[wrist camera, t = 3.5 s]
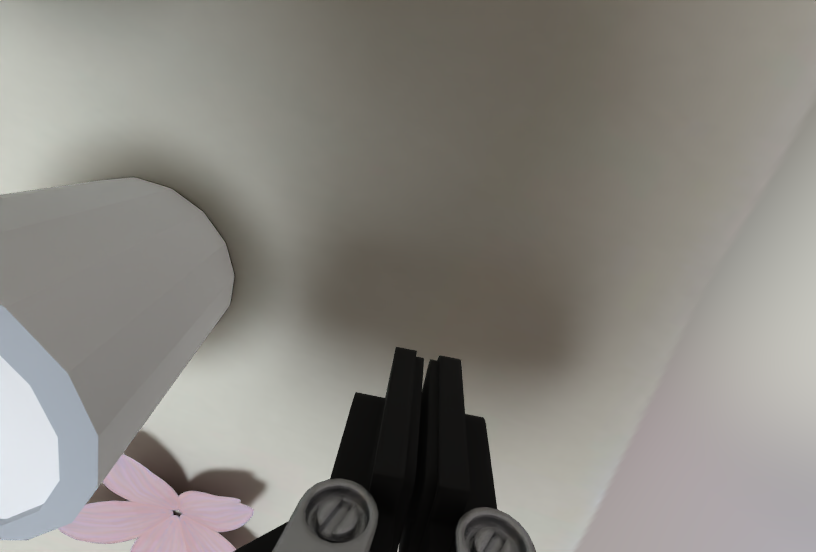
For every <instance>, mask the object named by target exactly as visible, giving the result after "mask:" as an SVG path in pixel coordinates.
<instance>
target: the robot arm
mask: <svg viewBox="0 0 816 552" xmlns="http://www.w3.org/2000/svg"><path fill="white" fill-rule="evenodd" d="M416 354H417V351H415V350H410V349H405V348H400V347H396V349H395V353H394V358H393V363H392V368H391V373H390V378H389V383H388V387H387V392H386V397H385V398H382V397H377V396H372V395H367V394H362V393H357V392H356V393H355V395H354V398H353V402H352V405H351V409H350V412H349V416H348V419H347V423H346V426H345V430H344V433H343V437H342V440H341V443H340V447H339V450H338V454H337V457H336V461H335V464H334V468H333V471H332V475H331V478H330V479H328V480H325V481H322V482H319V483H317V484H315V485H314V486H313V487H311V488H310V489H308V490H307V491H306V493H305V494H304V495H303V497H302V498H301V499H300V501H299V503H298V505H297V507H296V508H295V510H294V512H293V514H292V516H291V518H290V520H289V521H288V522H287V523H285V524H283V525H281V526H279V527H277V528H276V529H274V530H272V531H270V532H268V533H266V534H265V535H263V536H261V537H259V538H257V539H255V540H253V541H252V542H250V543H248V544H246V545H244V546H242V547H241V548H239V549H237V550H235V551H233V552H397V550H398V546H399V552H536V550H535V547H534V545H533V543H532V541H531V539H530V537H529V535H528V533H527V532H526V531H525V529H524V528H523V527H522V526H521V524H520V523H519V522H517V521H516V520H515V519H513V518H512V517H511V516H510V515H508V514H506V513H504V512H502V511H500V510H498V509H497V504H496V497H495V489H494V482H493V474H492V467H491V459H490V452H489V444H488V437H487V429H486V423H485V419H484V418H483V417H478V416H473V415H468V414H465V408H464V394H463V380H462V366H461V360H460V359H455V358H450V357H445V356H439V357H438V360H437V361H436V360H431V359H430V361H429V365H428V369H427V373H426V377H425V381H424V385H423V389H422V381H423V366H424V358H421V357H416Z"/></svg>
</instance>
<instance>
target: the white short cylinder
mask: <svg viewBox="0 0 816 552" xmlns="http://www.w3.org/2000/svg"><path fill="white" fill-rule="evenodd" d="M234 276H235V275H234V272H233V268H232V264H231V261H230V257H229V253H228V250H227V246H226V243H225V241H224V240H223V239H222V237H221V236H220V234H219V233H218V232H217V230H216V229H215V227H214V226H213V225H212V223H211V222H210V220H209V219H208V218H207V216H206V215H205V213H204V212H203V211H201V210H200V209H199V208H197V207H196V206H195V205H193V204H192V203H190V202H189V201H188V200H186V199H185V198H184V197H182V196H181V195H180V194H178V193H177V192H176V191H174V190H173V189H171V188H168V187H165V186H162V185H158V184H155V183H152V182H149V181H146V180H142V179H139V178H136V177H131V178H120V179H109V180H99V181H92V182H85V183H78V184H71V185H64V186H58V187H51V188H44V189H37V190H30V191H23V192H17V193H10V194H3V195H0V540H29V539H31V538H34V537H36V536H39V535H42V534H44V533H47V532H49V531H52V530H55V529H57V528H60V527H63V526H65V525H68V524H70V523H72V522H73V521H74V519H75V518H76V517H77V515H78V514H79V513H80V511H81V510H82V509H83V507H84V506H85V505H86V503H87V502H88V501H89V499H90V498H91V496H92V495H93V494H94V492H95V491H96V490H97V488H98V487H99V486H100V484H101V483H102V482H103V480H104V479H105V477H106V476H107V475H108V473H109V472H110V470H111V469H112V468H113V466H114V465H115V464H116V462H117V461H118V459H119V458H120V457H121V455H122V454H123V452H124V451H125V450H126V448H127V447H128V446H129V444H130V443H131V441H132V440H133V439H134V437H135V436H136V434H137V433H138V432H139V430H140V429H141V427H142V426H143V425H144V423H145V422H146V421H147V419H148V418H149V416H150V415H151V414H152V412H153V411H154V409H155V408H156V407H157V405H158V404H159V403H160V401H161V400H162V398H163V397H164V396H165V394H166V393H167V391H168V390H169V389H170V387H171V386H172V385H173V383H174V382H175V380H176V379H177V378H178V376H179V375H180V373H181V372H182V371H183V369H184V368H185V367H186V365H187V364H188V362H189V361H190V360H191V358H192V357H193V355H194V354H195V353H196V351H197V350H198V349H199V347H200V346H201V344H202V343H203V342H204V340H205V339H206V337H207V336H208V335H209V333H210V332H211V331H212V329H213V328H214V326H215V325H216V324H217V322H218V321H219V319H220V318H221V317H222V315H223V314H224V313H225V311H226V310H227V308H228V307H229V306H230V302H231V296H232V289H233V283H234Z"/></svg>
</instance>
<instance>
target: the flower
mask: <svg viewBox="0 0 816 552" xmlns="http://www.w3.org/2000/svg"><path fill="white" fill-rule="evenodd" d="M103 483H104V485H105V486H106V487H107V488H108V489H109V490H111V491H112V492H114V493H115V494H117V495H119V496H121V497H123V498H125V499H127V500H129V501H103V502H95V503H89V504H86V505H85V506H84V507H83V509H82V510H81V511H80V513H79V514H78V515H77V517H76V518H75V519H74V521H73V522H72V523H70V524H68V525H65V526H63V527H60V528H58V529H59V530H60V531H61V532H62V533H64V534H65V535H67V536H69V537H72V538H74V539H76V540H81V541H86V542H92V543H104V544H111V543H118V542H124V541H128V540H132V539H135V538H137V539H136V541H135V542H134V544H133V546H132V548H131V552H233V551H235V550H236V548H235V547H234V546H233V545H232V544H231V543H230V542H229V541H228V540H227V539H225V538H224V537H223V536H222V535H220V534H219V533H218V532H226V531H231V530H235V529H237V528H239V527H241V526H243V525H244V524H245V523H246V522H247V521H248V520H250V518H251V517H252V516H253V513H254V509H252V508H251V507H249V506H247V505H244V504H241V503H240V501H241V500H240V499H237V498H233V497H223V496H216V495H212V494H208V493H204V492H199V491H187V492H184V493H182V494H180V495H179V496H178V495H177V493H176V492H175V491H174V489H173V488H172V487H171V486H169V485H168V484H167V483H166V482H165V481H164V480H162V479H161V478H159V477H158V476H156V475H155V474H153V473H152V472H151V471H149V470H148V469H147V468H146V467H144V466H143V465H142V464H140V463H139V462H137V461H136V460H134V459H132V458H131V457H129V456H127V455H124V454H122V455H121V457H120V458H119V459H118V461H117V462H116V464H115V465H114V466H113V468H112V469H111V470H110V472H109V473H108V475H107V476H106V477H105V479H104V480H103ZM172 510H179V511H180V512H181V513H182V514H183V515H182V514H181V515H180V517H178V516H177V515H173V511H172Z"/></svg>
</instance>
